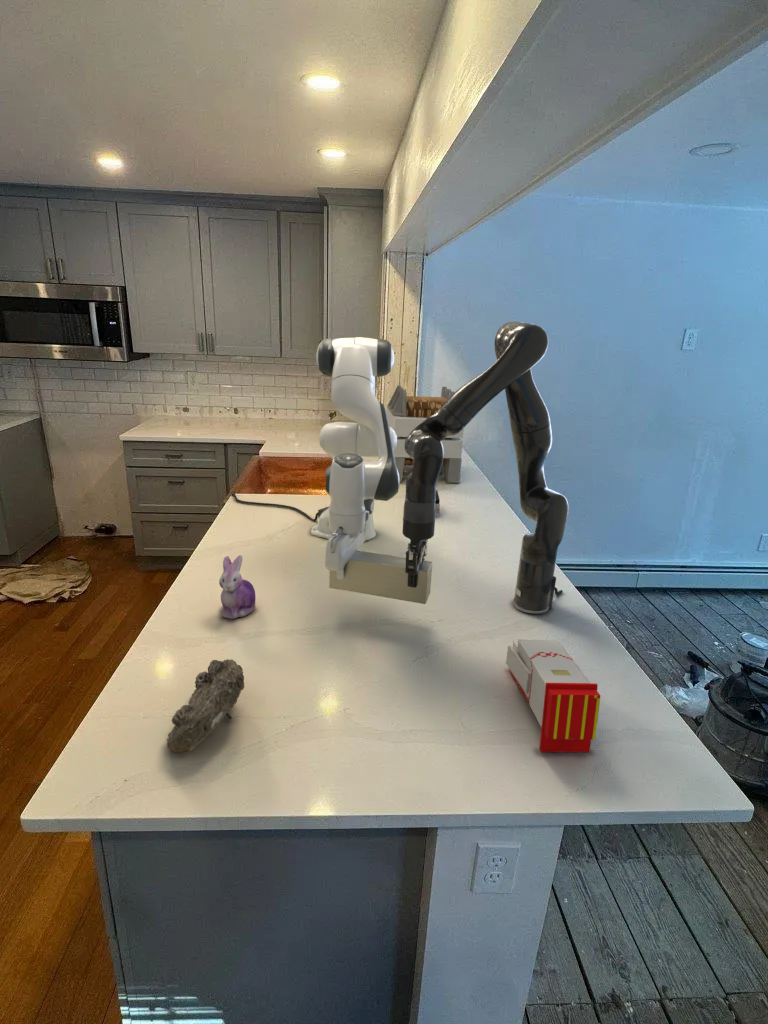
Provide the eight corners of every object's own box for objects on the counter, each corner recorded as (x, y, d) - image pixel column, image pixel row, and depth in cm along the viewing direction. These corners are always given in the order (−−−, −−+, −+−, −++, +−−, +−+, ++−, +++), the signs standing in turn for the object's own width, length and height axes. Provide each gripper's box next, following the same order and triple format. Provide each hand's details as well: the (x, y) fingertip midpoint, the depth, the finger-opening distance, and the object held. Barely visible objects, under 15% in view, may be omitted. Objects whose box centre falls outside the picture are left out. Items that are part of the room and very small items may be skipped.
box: (329, 587, 142) (329, 556, 139) (337, 577, 148) (337, 547, 145) (425, 604, 136) (427, 571, 133) (430, 593, 142) (432, 561, 139)
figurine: (224, 623, 139) (221, 568, 134) (215, 604, 148) (212, 552, 142) (262, 616, 143) (260, 562, 138) (251, 598, 152) (249, 546, 147)
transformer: (382, 463, 289) (386, 382, 275) (445, 464, 293) (451, 384, 279) (390, 482, 257) (394, 392, 243) (460, 483, 261) (468, 394, 247)
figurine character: (440, 522, 216) (436, 505, 230) (442, 504, 213) (438, 488, 226) (422, 521, 216) (419, 504, 229) (424, 503, 213) (421, 487, 226)
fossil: (192, 660, 117) (244, 628, 112) (224, 691, 120) (276, 661, 115) (142, 746, 98) (202, 712, 93) (182, 779, 101) (242, 748, 96)
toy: (554, 622, 128) (610, 691, 98) (548, 677, 130) (601, 759, 101) (501, 621, 127) (541, 690, 98) (496, 676, 130) (534, 758, 101)
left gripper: (344, 538, 128) (343, 592, 133) (371, 509, 147) (369, 558, 151) (318, 534, 130) (318, 588, 134) (348, 506, 148) (347, 554, 153)
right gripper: (428, 529, 125) (423, 596, 131) (440, 508, 138) (435, 571, 144) (396, 524, 127) (392, 591, 133) (410, 504, 140) (407, 566, 146)
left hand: (345, 572), depth 143 cm, fingers closed on box, 6 cm apart
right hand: (415, 580), depth 138 cm, fingers closed on box, 6 cm apart
